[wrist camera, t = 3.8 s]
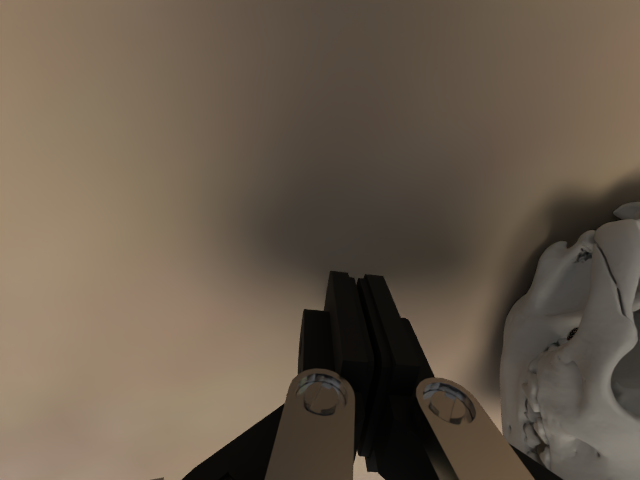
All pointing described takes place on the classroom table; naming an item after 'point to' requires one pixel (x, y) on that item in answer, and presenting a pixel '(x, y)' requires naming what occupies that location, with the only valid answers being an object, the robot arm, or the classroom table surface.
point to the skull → (578, 356)
